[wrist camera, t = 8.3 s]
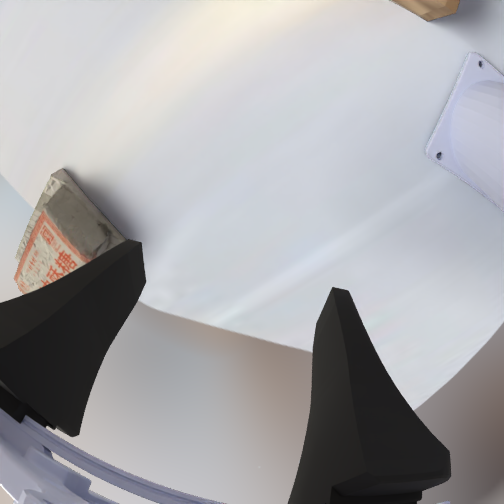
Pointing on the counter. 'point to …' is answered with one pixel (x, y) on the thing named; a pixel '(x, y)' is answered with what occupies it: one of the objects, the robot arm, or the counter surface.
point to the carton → (429, 7)
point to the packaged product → (61, 235)
